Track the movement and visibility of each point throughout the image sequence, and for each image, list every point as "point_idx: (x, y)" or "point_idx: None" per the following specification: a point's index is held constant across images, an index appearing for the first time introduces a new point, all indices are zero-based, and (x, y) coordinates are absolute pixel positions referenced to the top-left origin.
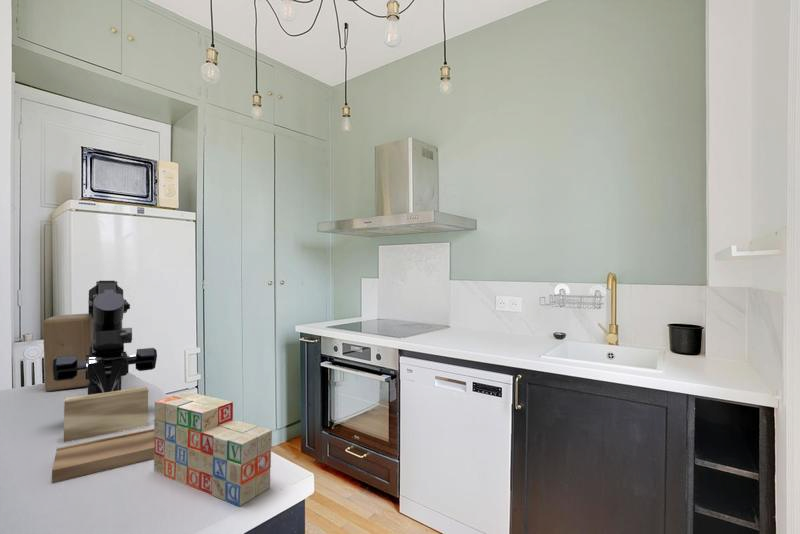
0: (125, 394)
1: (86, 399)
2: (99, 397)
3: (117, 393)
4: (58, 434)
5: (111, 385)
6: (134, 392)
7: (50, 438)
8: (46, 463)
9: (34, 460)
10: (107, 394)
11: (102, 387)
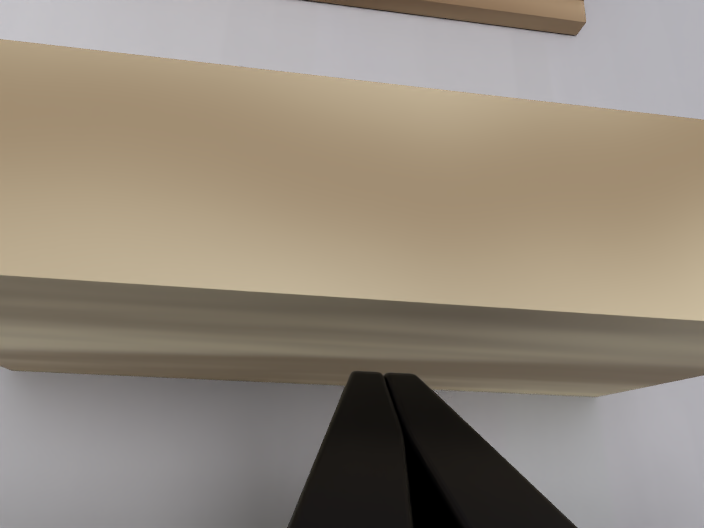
0: (175, 70)
1: (639, 113)
2: (500, 98)
3: (276, 124)
4: (646, 495)
5: (353, 456)
6: (44, 52)
7: (679, 431)
8: (610, 17)
9: (673, 93)
10: (407, 167)
11: (504, 469)
